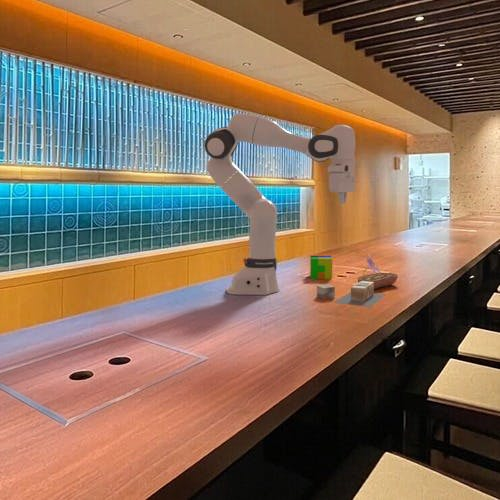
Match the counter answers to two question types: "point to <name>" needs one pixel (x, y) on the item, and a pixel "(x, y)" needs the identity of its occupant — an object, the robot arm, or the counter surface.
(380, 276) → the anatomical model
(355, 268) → the counter surface
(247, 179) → the robot arm
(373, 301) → the slate mat
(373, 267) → the lily
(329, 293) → the grey block
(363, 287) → the maple block
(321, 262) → the puzzle toy
